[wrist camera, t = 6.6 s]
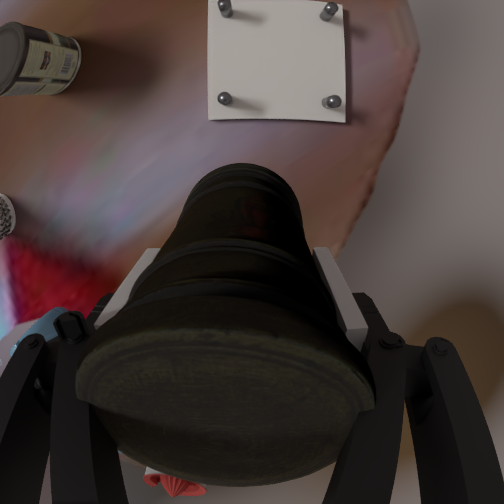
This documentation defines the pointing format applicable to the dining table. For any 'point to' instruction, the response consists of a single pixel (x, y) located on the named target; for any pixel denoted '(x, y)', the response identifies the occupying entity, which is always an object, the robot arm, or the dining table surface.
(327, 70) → the locating plate
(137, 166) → the dining table surface
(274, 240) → the container
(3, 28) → the coffee can
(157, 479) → the citrus juicer
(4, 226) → the decorative candle
